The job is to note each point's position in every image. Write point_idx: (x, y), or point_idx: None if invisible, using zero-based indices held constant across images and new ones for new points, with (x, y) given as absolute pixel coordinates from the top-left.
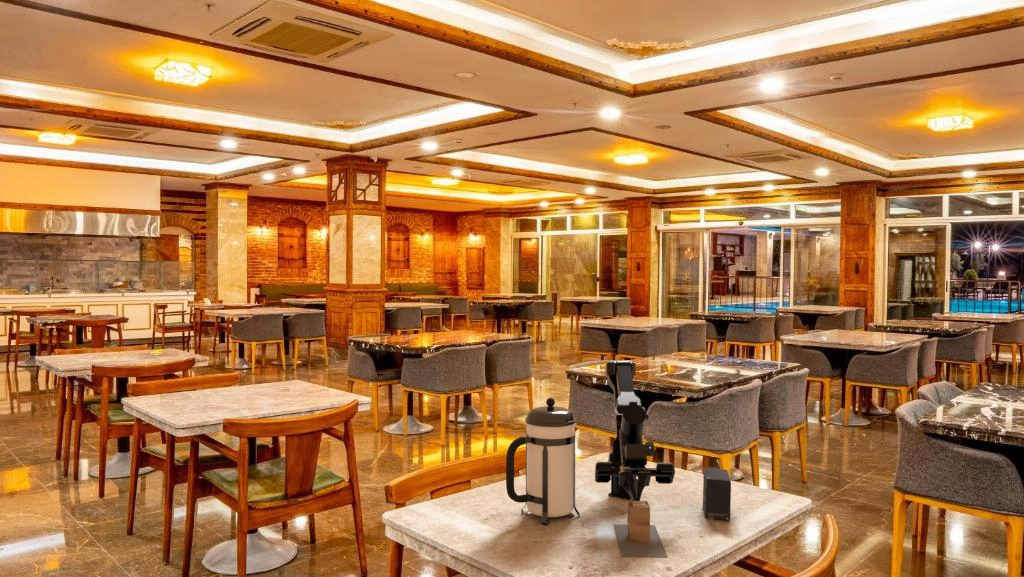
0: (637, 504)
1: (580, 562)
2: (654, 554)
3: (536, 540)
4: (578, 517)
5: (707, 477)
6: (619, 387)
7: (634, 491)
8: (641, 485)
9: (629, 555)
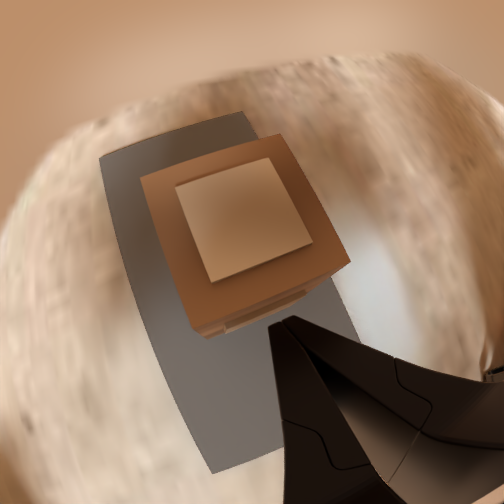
0: (244, 184)
1: (329, 79)
2: (142, 161)
3: (474, 169)
4: (487, 375)
5: None
6: None
7: (354, 371)
8: (310, 462)
9: (220, 124)
